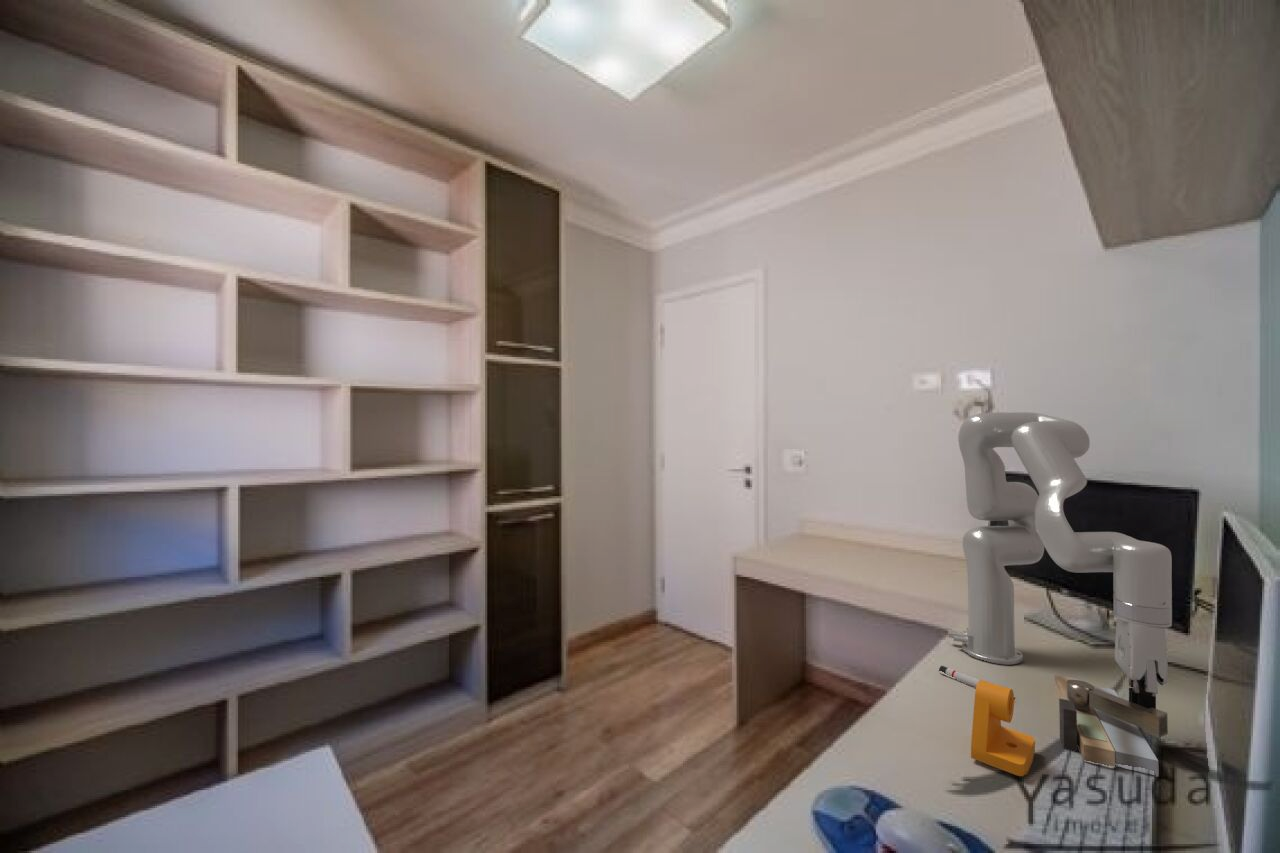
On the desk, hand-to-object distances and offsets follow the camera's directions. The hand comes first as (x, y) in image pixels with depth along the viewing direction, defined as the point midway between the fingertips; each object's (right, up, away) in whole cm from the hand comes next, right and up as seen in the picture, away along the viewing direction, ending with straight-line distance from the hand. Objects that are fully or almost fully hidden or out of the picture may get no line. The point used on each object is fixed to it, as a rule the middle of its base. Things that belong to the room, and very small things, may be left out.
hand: (1142, 713), depth 93 cm
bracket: (-27, -6, -4) cm, 28 cm away
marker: (-16, -6, +20) cm, 27 cm away
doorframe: (-5, -5, +5) cm, 9 cm away
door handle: (-4, -1, +1) cm, 4 cm away
